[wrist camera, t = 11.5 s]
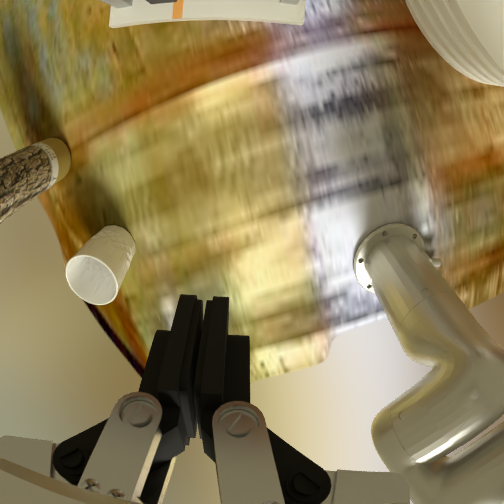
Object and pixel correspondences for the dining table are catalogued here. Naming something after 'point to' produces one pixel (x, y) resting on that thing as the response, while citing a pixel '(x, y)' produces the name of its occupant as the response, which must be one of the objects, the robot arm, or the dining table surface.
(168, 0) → the collar
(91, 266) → the white cup
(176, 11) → the orange strap
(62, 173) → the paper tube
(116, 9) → the pipe stand
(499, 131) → the dining table surface
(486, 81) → the plate stack
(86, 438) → the robot arm
